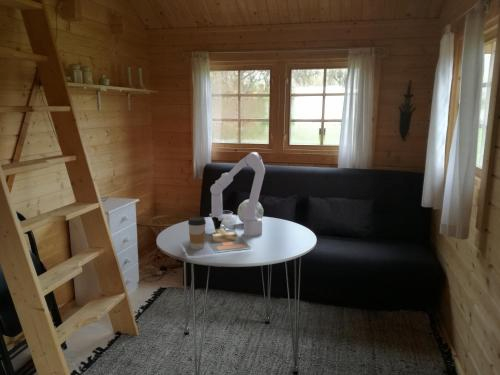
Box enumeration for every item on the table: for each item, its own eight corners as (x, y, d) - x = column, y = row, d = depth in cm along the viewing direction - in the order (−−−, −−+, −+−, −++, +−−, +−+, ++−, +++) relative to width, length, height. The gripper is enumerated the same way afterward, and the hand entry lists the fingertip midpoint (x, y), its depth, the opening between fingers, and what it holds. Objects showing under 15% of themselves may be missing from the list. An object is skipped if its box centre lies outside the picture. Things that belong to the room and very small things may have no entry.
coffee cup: (203, 252, 186) (202, 221, 184) (186, 251, 188) (185, 220, 185) (208, 246, 195) (208, 216, 192) (192, 245, 196) (191, 215, 193)
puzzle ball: (240, 229, 224) (240, 202, 222) (235, 222, 239) (235, 197, 236) (266, 227, 228) (266, 201, 225) (259, 220, 242) (259, 196, 240)
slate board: (234, 233, 215) (234, 231, 215) (250, 249, 191) (250, 247, 191) (202, 237, 210) (201, 235, 209) (214, 253, 185) (214, 251, 185)
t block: (230, 233, 213) (230, 227, 213) (236, 239, 202) (236, 233, 202) (208, 235, 209) (207, 229, 209) (213, 242, 198) (213, 236, 198)
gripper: (206, 203, 218) (206, 227, 220) (212, 209, 204) (213, 234, 207) (219, 202, 220) (219, 226, 222) (226, 208, 206) (226, 233, 209)
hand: (217, 230), depth 215 cm, fingers closed
